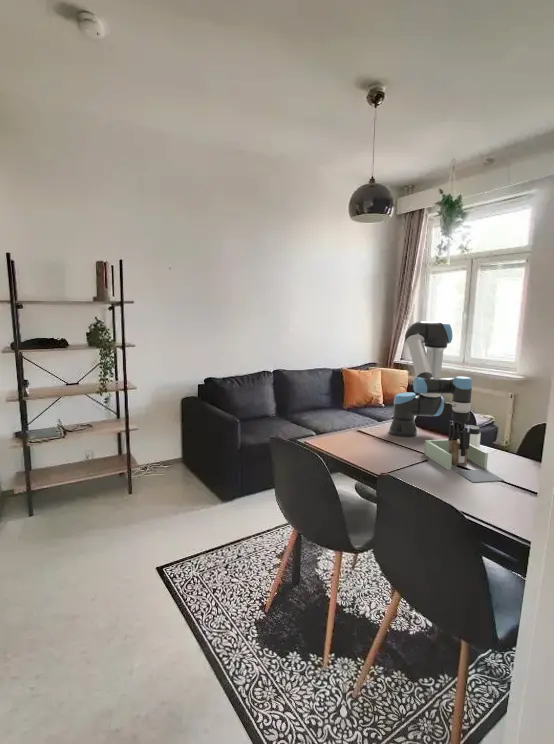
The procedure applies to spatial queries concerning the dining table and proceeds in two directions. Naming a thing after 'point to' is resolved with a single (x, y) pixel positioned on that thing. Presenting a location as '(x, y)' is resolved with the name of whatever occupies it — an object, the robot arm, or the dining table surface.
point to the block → (456, 452)
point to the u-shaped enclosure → (441, 455)
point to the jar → (474, 435)
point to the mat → (479, 476)
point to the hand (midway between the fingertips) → (457, 460)
